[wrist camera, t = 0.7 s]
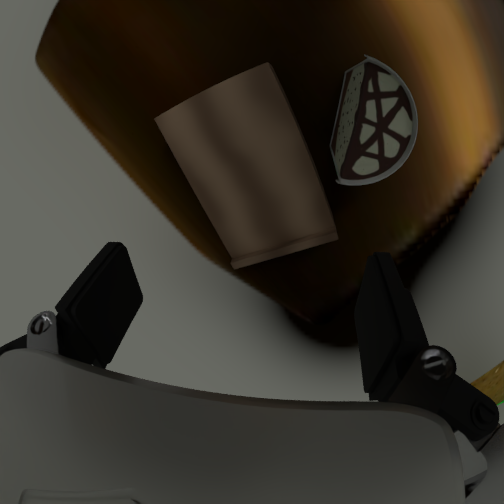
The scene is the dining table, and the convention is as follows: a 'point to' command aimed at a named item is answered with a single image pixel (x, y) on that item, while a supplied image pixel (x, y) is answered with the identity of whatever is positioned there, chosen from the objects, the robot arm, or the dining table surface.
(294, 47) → the dining table surface
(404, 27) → the dining table surface
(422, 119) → the dining table surface
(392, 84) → the food container
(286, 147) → the brown rectangular block
